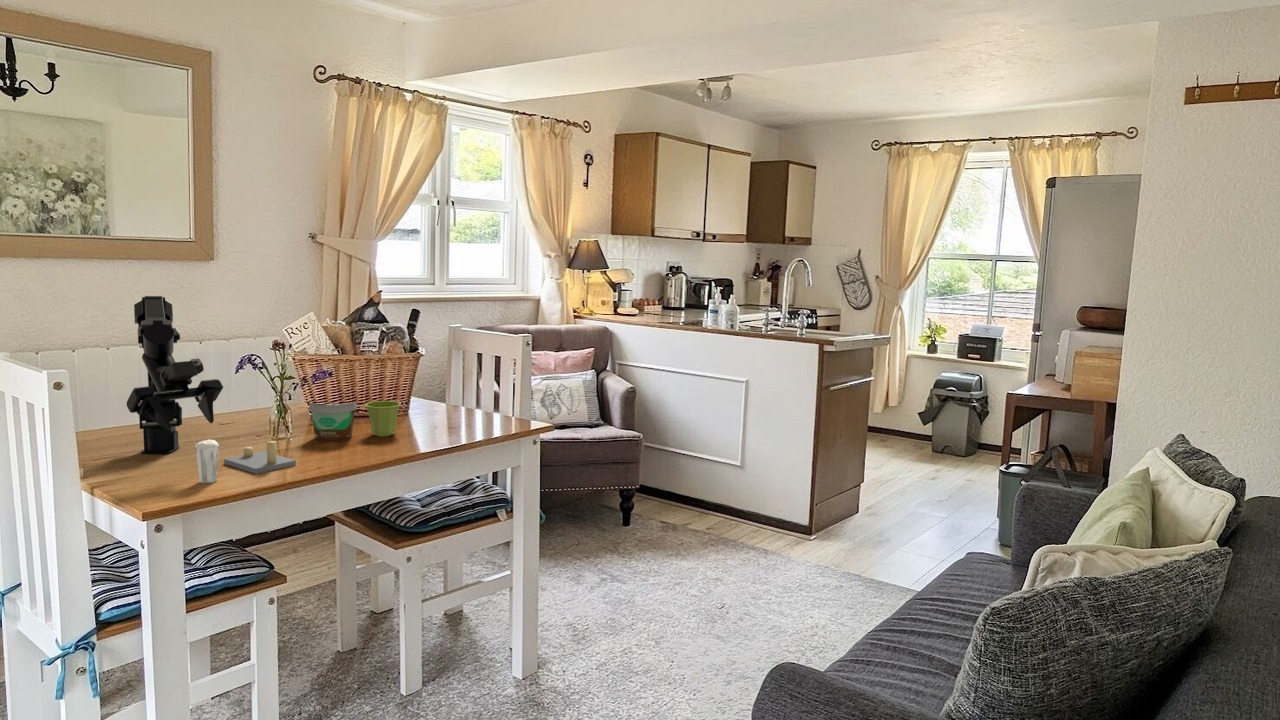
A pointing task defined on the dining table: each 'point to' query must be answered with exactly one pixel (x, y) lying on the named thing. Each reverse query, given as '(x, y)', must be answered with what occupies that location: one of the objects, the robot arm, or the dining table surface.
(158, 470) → the dining table surface
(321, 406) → the food container
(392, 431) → the plant pot
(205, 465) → the milkshake
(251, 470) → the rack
